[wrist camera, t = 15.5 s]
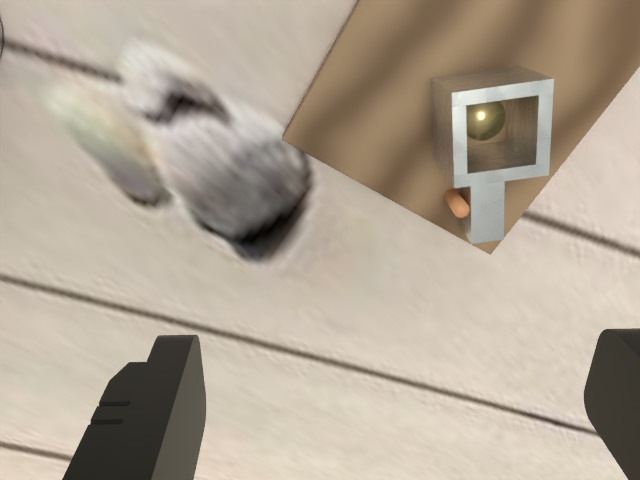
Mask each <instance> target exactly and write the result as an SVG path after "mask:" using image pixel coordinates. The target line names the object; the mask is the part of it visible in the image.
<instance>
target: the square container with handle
mask: <svg viewBox="0 0 640 480" xmlns="http://www.w3.org/2000/svg"><path fill="white" fill-rule="evenodd" d="M553 88H554V78H552V77H549V76H546V75H544V74H541V73H539V72H536V71H533V70H531V69H528V68H525V67H523V66H520V65H515V66H508V67H502V68H495V69H488V70H481V71H474V72H467V73H460V74H453V75H446V76H439V77H432V78H431V93H432V116H433V139H434V162H435V163H436V164H437V166H438V167H439V168H440V170H441V171H442V172H443V174H444V175H445V176H446V178H447V179H448V181H449V182H450V183H451V185H452V186H453V187H454V188H460V195H461V196H462V198H463V199H464V200H465V202H466V203H467V204H468V206H469V208H470V211H469V213H468V215H467V216H465V217H463V218H461V228H462V230H463V232H464V233H465V235H466V236H467V238H468V239H469V241H470V242H471V244H474V243H481V242H488V241H496V240H503V239H504V190H505V181H511V180H519V179H526V178H533V177H540V176H548V175H549V165H550V146H551V127H552V107H553ZM500 100H506V132H505V141H499V142H492V143H485V144H477V145H470V146H467V123H466V105H472V104H479V103H486V102H493V101H500Z"/></svg>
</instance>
